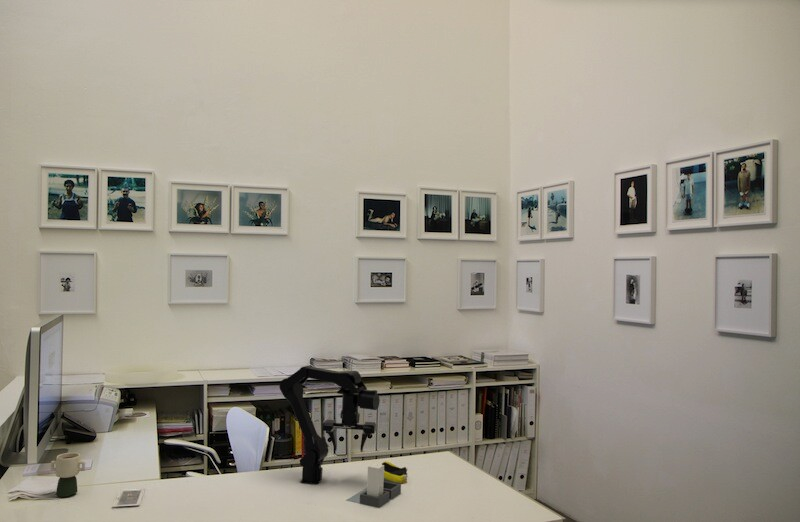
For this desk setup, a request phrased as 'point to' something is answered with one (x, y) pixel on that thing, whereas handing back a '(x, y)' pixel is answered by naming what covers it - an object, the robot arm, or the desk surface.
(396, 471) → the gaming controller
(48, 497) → the desk surface
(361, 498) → the board
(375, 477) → the plug
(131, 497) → the touchpad
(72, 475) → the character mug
